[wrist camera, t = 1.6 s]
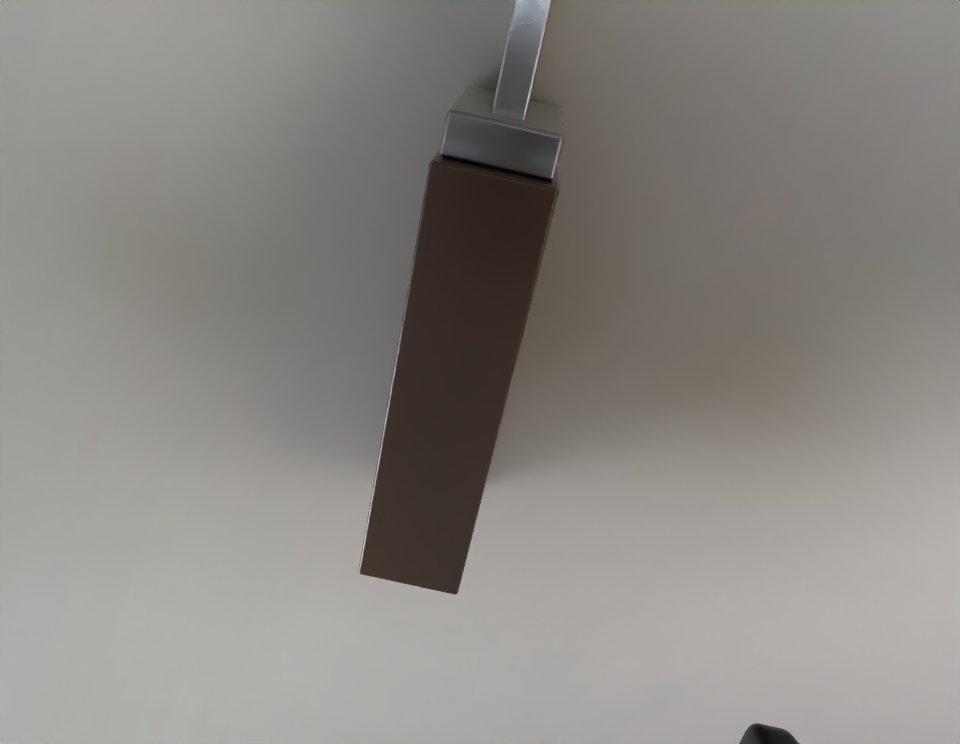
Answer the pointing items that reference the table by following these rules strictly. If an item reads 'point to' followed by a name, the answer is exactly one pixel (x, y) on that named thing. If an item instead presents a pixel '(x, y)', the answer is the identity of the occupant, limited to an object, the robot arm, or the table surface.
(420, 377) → the knife
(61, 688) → the table surface
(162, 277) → the table surface
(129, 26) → the table surface
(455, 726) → the table surface
